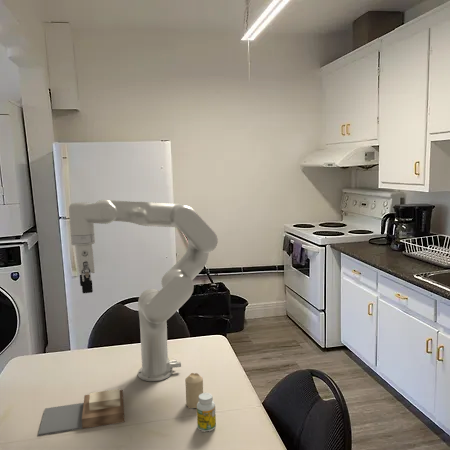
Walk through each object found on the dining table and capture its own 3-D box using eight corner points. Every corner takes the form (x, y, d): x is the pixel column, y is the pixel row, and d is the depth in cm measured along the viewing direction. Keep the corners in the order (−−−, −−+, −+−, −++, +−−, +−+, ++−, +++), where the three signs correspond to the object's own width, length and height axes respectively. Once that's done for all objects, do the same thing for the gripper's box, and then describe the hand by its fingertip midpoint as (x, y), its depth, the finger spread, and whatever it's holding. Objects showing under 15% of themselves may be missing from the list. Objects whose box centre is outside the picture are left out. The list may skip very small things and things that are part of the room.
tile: (119, 396, 139) (119, 388, 139) (120, 406, 133) (119, 398, 133) (90, 400, 137) (90, 393, 136) (89, 410, 131) (89, 402, 131)
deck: (123, 398, 144) (122, 389, 143) (124, 421, 130) (124, 412, 130) (85, 404, 141) (84, 395, 140) (82, 428, 127) (81, 419, 127)
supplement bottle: (218, 423, 128) (217, 393, 127) (211, 434, 123) (210, 402, 122) (202, 420, 130) (201, 390, 129) (194, 430, 125) (193, 399, 124)
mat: (85, 404, 141) (85, 402, 140) (82, 428, 127) (82, 427, 127) (45, 409, 138) (45, 408, 137) (38, 435, 124) (38, 434, 124)
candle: (190, 411, 135) (189, 380, 134) (183, 402, 140) (182, 373, 139) (206, 406, 138) (205, 376, 136) (199, 398, 143) (198, 369, 141)
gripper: (97, 242, 139) (100, 294, 142) (92, 235, 155) (95, 281, 157) (72, 244, 137) (76, 297, 139) (69, 236, 152) (73, 284, 155)
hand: (86, 289), depth 148 cm, fingers open, 9 cm apart
